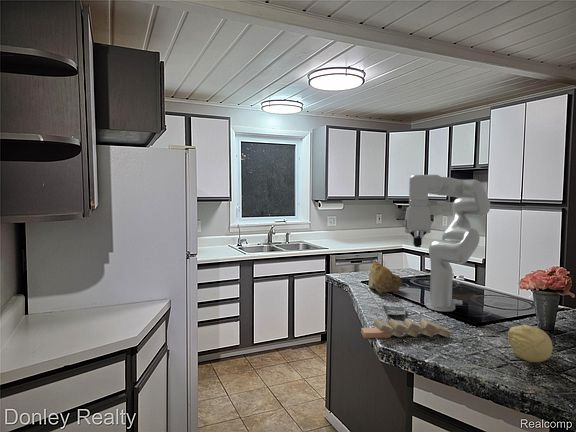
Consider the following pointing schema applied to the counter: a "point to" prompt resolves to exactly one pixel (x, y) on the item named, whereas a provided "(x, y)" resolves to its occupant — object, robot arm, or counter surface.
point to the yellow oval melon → (530, 343)
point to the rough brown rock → (383, 279)
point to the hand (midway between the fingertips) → (417, 246)
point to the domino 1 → (374, 333)
